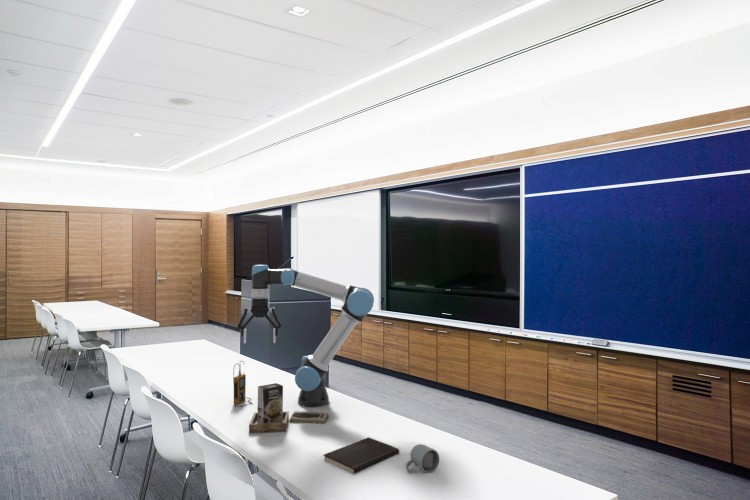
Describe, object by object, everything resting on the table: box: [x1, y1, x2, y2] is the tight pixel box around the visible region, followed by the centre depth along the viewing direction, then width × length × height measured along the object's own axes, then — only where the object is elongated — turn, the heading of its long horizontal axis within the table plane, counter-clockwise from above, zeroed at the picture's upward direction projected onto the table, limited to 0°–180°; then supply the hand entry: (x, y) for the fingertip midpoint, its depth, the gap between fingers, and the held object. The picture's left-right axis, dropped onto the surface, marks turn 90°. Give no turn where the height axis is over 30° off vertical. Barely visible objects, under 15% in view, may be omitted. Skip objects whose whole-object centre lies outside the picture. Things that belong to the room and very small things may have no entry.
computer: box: [289, 410, 330, 425], centre depth 212 cm, size 16×8×3 cm, turn 83°
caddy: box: [248, 411, 290, 434], centre depth 204 cm, size 15×15×4 cm
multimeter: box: [232, 360, 253, 408], centre depth 236 cm, size 15×10×20 cm
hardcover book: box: [323, 436, 400, 474], centre depth 174 cm, size 16×23×2 cm
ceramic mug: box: [405, 444, 441, 474], centre depth 163 cm, size 11×8×8 cm
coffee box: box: [256, 382, 284, 423], centre depth 204 cm, size 9×6×16 cm
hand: (259, 342), depth 225 cm, fingers open, 13 cm apart
